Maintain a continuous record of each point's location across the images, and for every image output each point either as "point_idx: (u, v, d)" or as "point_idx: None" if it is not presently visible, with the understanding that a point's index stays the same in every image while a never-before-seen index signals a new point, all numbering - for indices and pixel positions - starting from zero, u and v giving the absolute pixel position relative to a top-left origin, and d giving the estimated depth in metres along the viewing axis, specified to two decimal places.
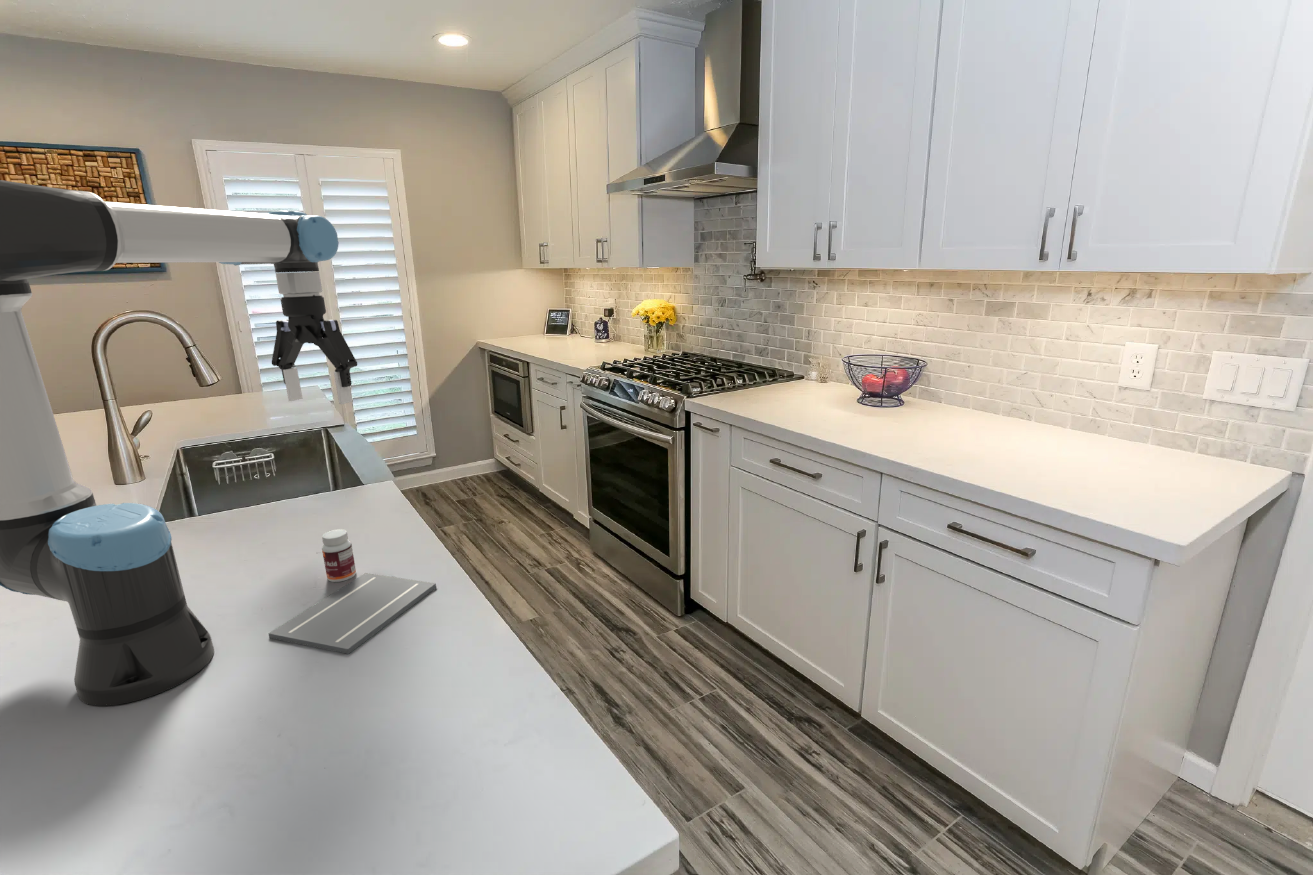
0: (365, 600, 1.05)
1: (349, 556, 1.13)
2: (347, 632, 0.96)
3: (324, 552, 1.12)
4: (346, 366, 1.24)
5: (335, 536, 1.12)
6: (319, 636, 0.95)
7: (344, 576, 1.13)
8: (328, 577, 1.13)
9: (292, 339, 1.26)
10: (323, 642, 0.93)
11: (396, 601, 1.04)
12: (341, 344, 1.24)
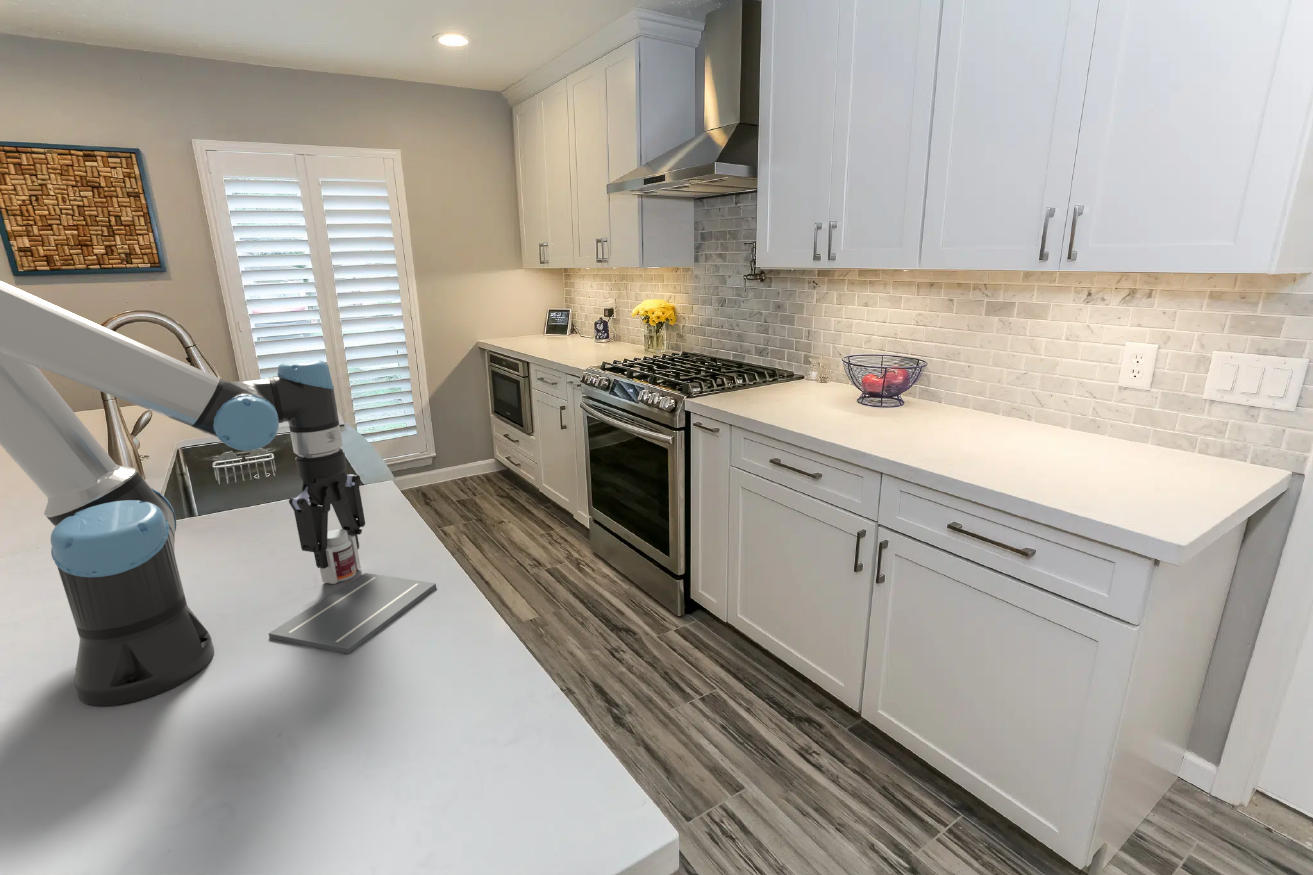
0: (365, 600, 1.05)
1: (349, 556, 1.13)
2: (347, 632, 0.96)
3: None
4: None
5: (335, 536, 1.12)
6: (319, 636, 0.95)
7: (344, 576, 1.13)
8: None
9: None
10: (323, 642, 0.93)
11: (396, 601, 1.04)
12: (302, 527, 1.06)
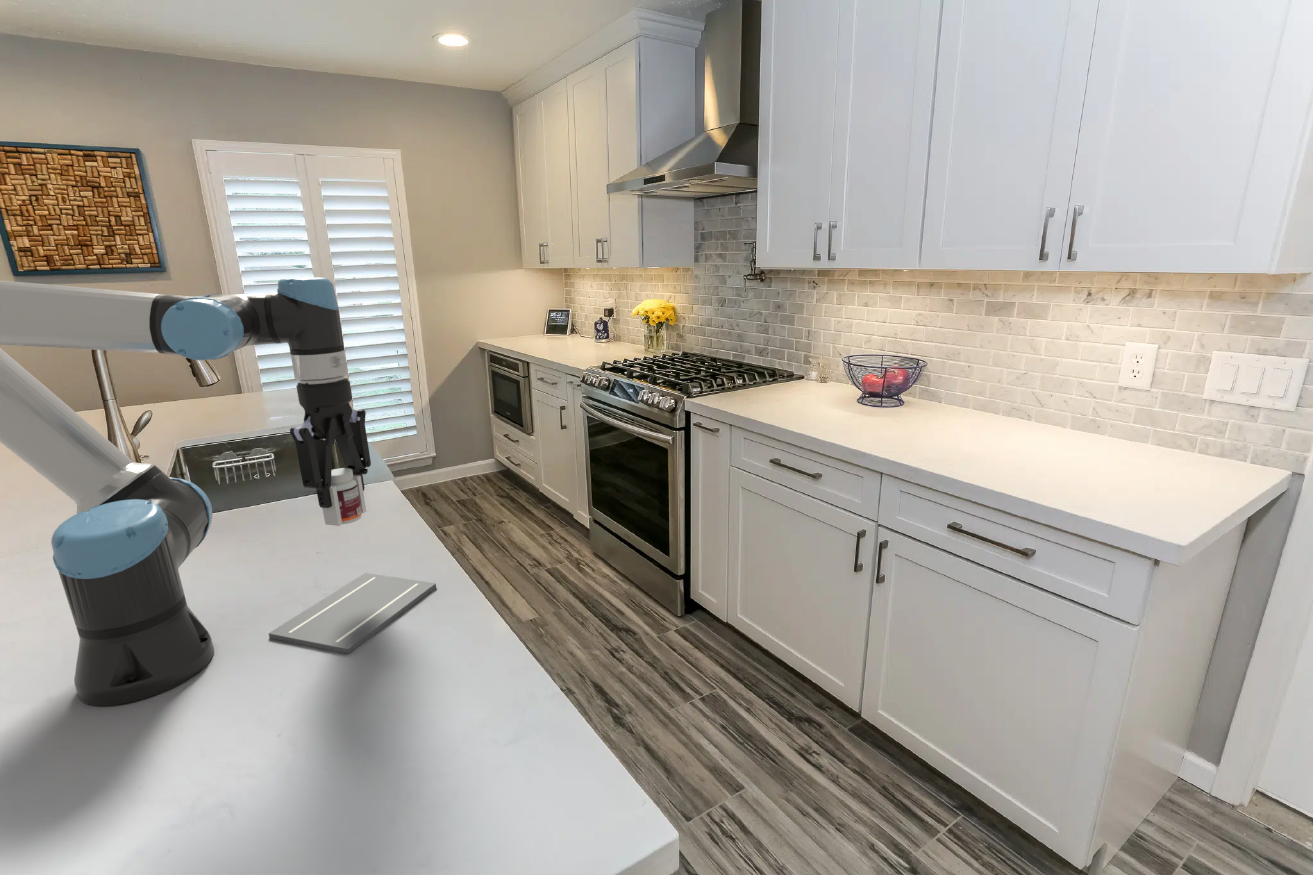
0: (365, 600, 1.05)
1: (355, 496, 1.04)
2: (347, 632, 0.96)
3: None
4: None
5: (339, 474, 1.02)
6: (319, 636, 0.95)
7: (350, 517, 1.04)
8: None
9: None
10: (323, 642, 0.93)
11: (396, 601, 1.04)
12: (304, 460, 0.97)
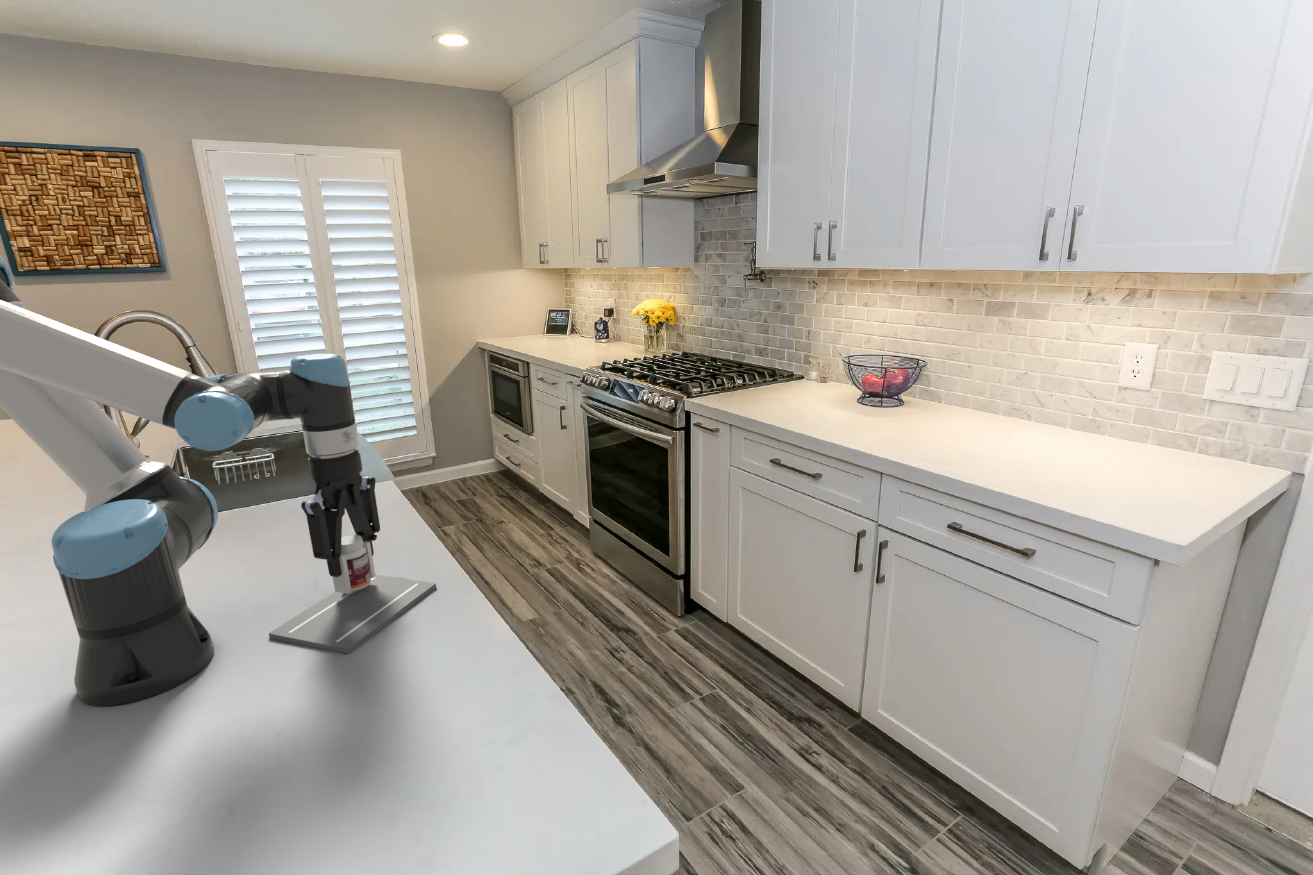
0: (365, 600, 1.05)
1: (364, 563, 1.06)
2: (347, 632, 0.96)
3: None
4: None
5: (349, 543, 1.05)
6: (319, 636, 0.95)
7: (359, 584, 1.06)
8: None
9: None
10: (323, 642, 0.93)
11: (396, 601, 1.04)
12: (314, 532, 0.99)
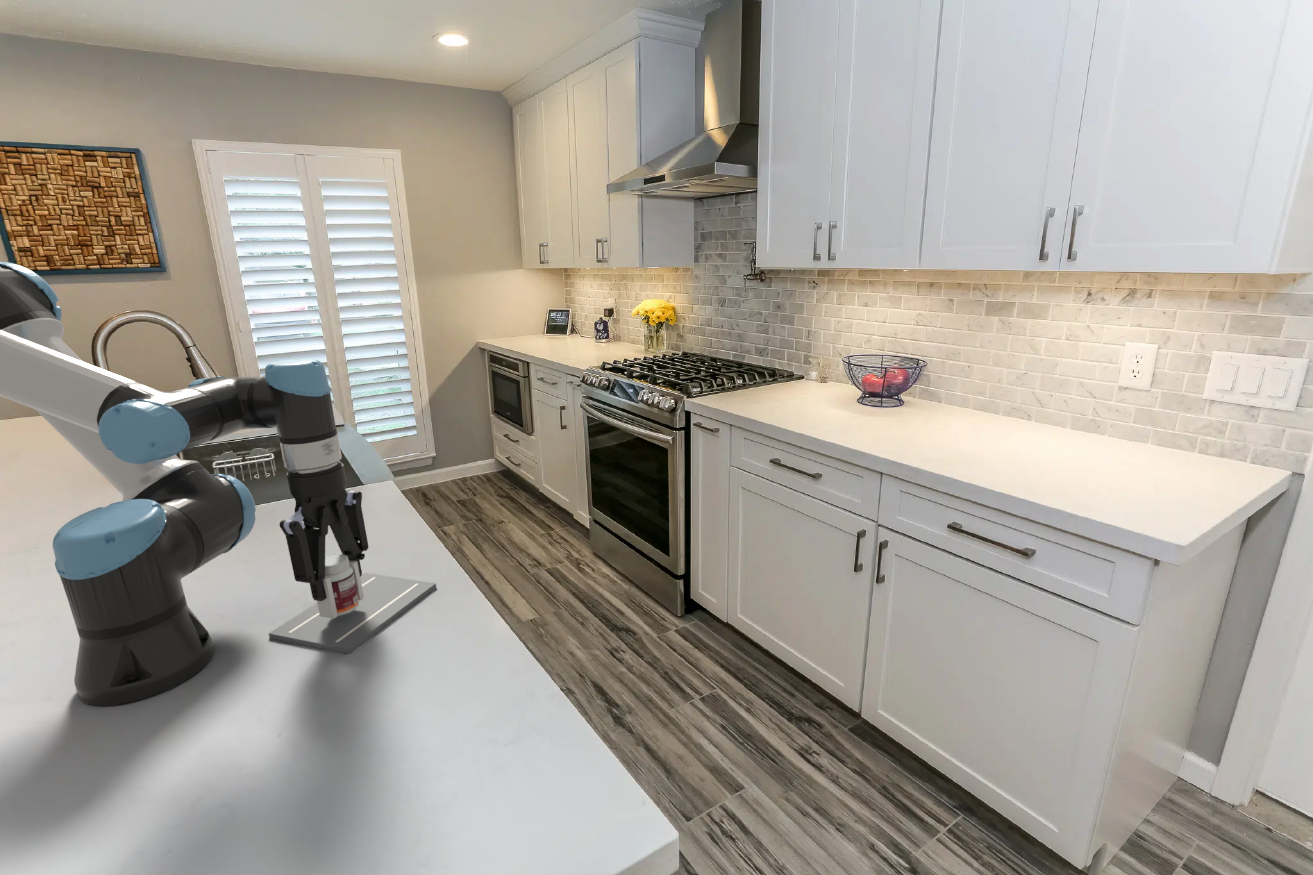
0: (365, 600, 1.05)
1: (351, 585, 0.98)
2: (347, 632, 0.96)
3: None
4: None
5: (334, 563, 0.96)
6: (319, 636, 0.95)
7: (346, 608, 0.98)
8: None
9: None
10: (323, 642, 0.93)
11: (396, 601, 1.04)
12: (295, 554, 0.91)
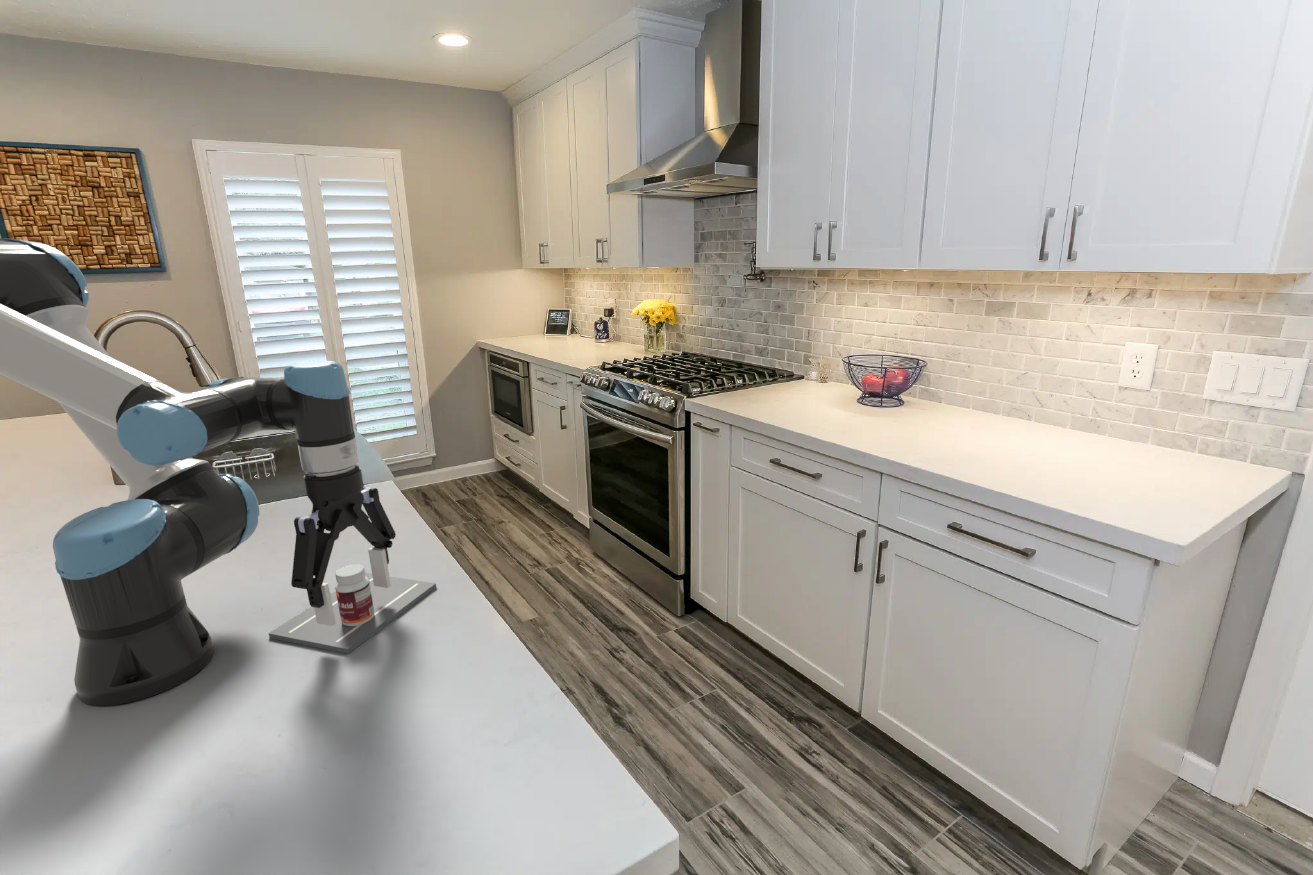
0: None
1: (367, 595, 0.98)
2: (347, 632, 0.96)
3: (338, 592, 0.96)
4: None
5: (350, 574, 0.96)
6: (319, 636, 0.95)
7: (362, 619, 0.97)
8: (342, 621, 0.97)
9: None
10: (323, 642, 0.93)
11: (396, 601, 1.04)
12: (300, 554, 0.88)
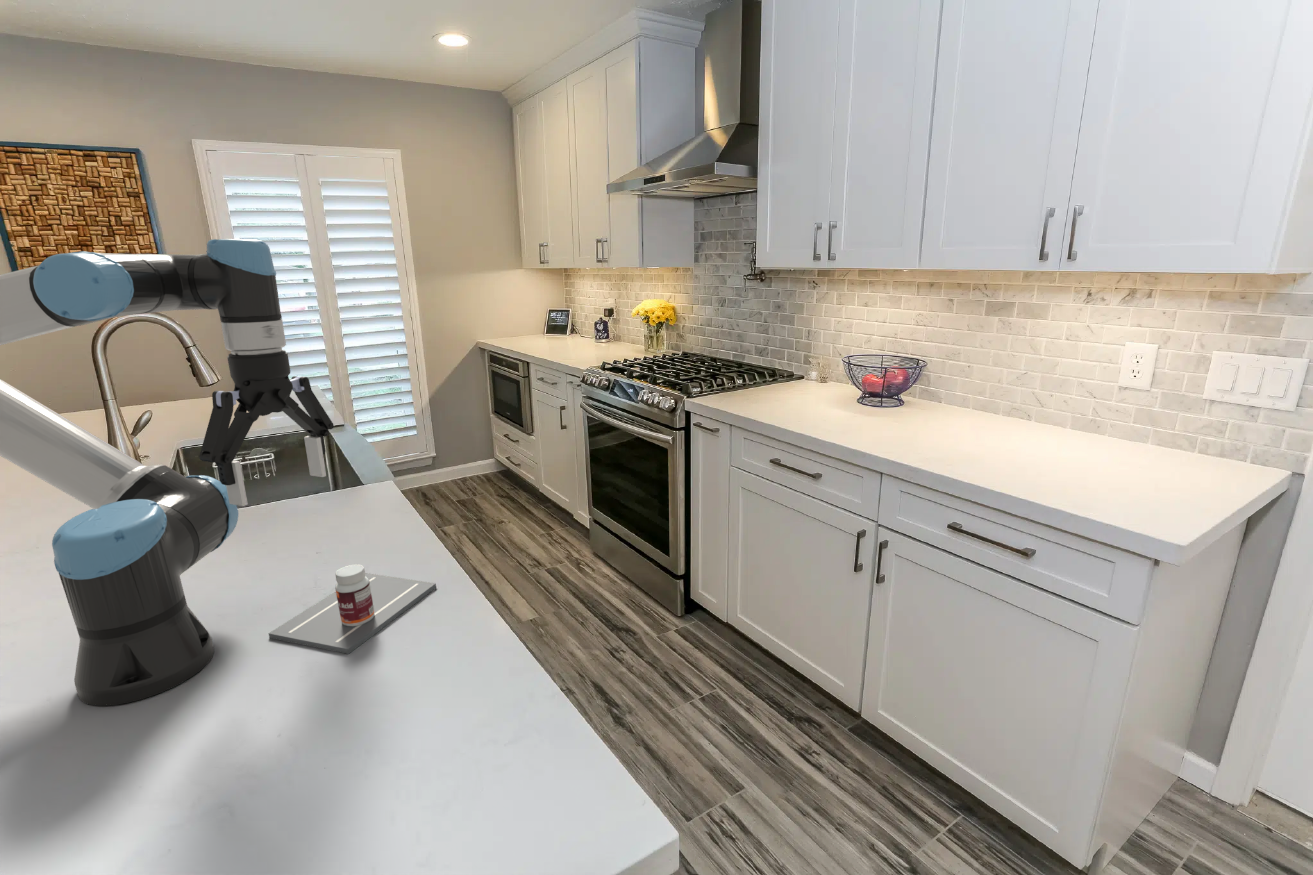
0: None
1: (367, 595, 0.98)
2: (347, 632, 0.96)
3: (338, 592, 0.96)
4: None
5: (350, 574, 0.96)
6: (319, 636, 0.95)
7: (362, 619, 0.97)
8: (342, 621, 0.97)
9: None
10: (323, 642, 0.93)
11: (396, 601, 1.04)
12: (212, 427, 0.87)
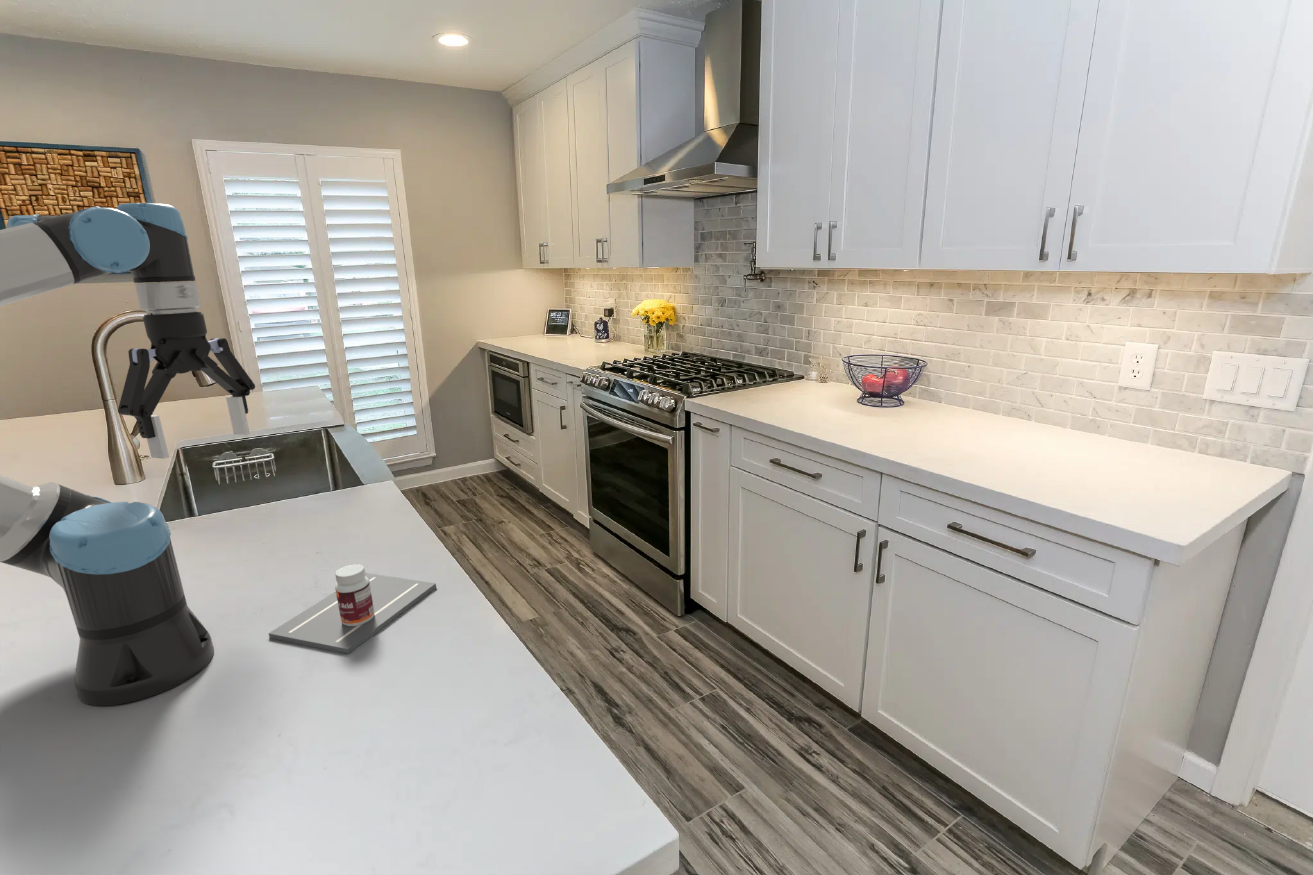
0: None
1: (367, 595, 0.98)
2: (347, 632, 0.96)
3: (338, 592, 0.96)
4: None
5: (350, 574, 0.96)
6: (319, 636, 0.95)
7: (362, 619, 0.97)
8: (342, 621, 0.97)
9: None
10: (323, 642, 0.93)
11: (396, 601, 1.04)
12: (130, 382, 0.92)
